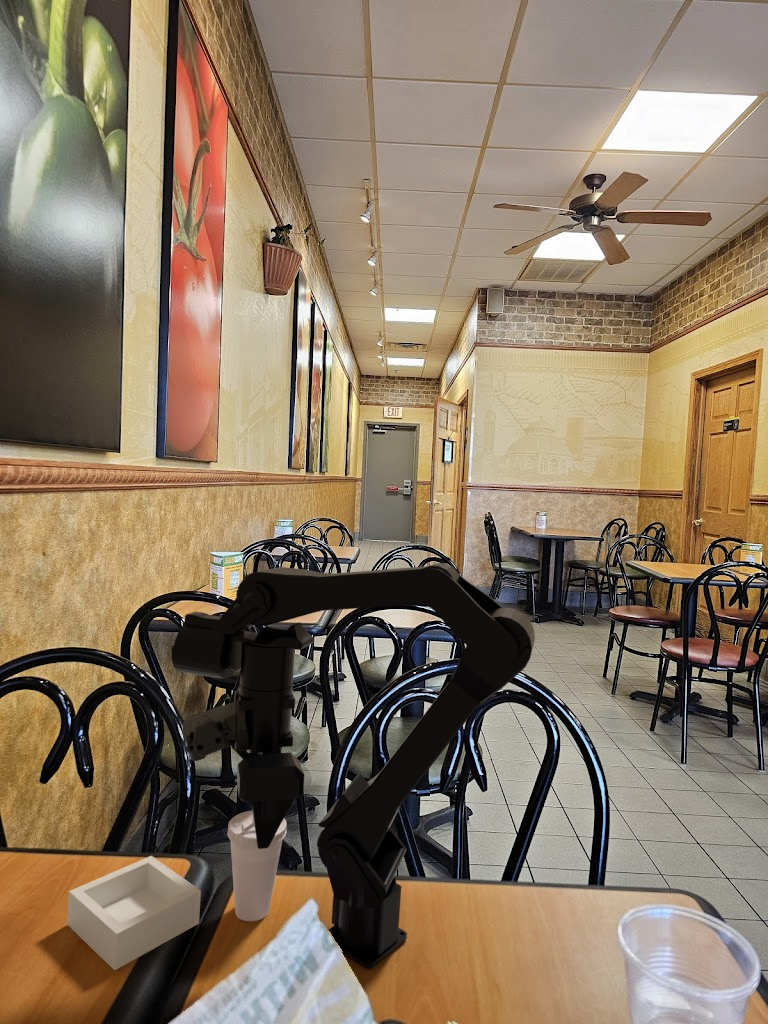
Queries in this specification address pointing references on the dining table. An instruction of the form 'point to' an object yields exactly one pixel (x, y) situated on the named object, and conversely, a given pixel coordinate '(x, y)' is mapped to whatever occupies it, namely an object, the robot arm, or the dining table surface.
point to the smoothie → (253, 867)
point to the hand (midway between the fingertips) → (258, 825)
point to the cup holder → (133, 910)
